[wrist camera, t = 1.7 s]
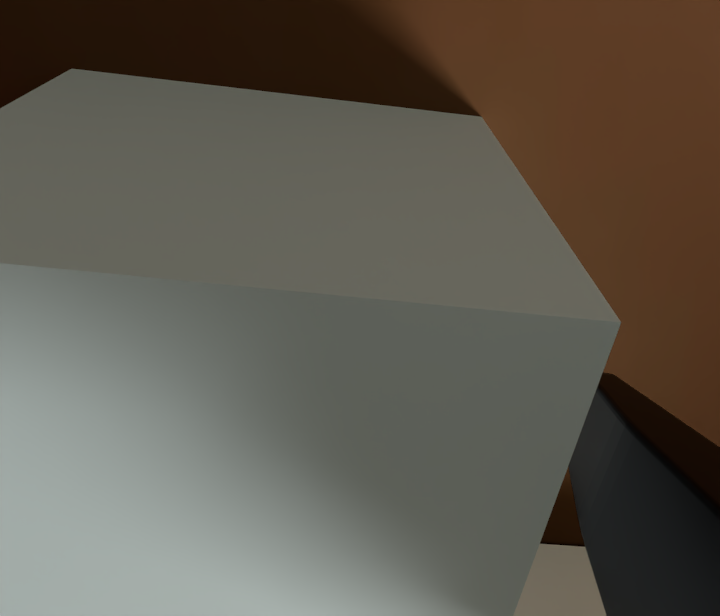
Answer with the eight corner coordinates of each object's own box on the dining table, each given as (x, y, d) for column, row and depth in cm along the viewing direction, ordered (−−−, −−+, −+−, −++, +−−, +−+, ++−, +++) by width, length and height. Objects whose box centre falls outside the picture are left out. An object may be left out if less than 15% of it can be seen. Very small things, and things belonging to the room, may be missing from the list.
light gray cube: (103, 396, 13) (-65, 728, 8) (73, 66, 10) (-237, 239, 5) (416, 422, 13) (462, 751, 8) (481, 115, 10) (621, 321, 5)
